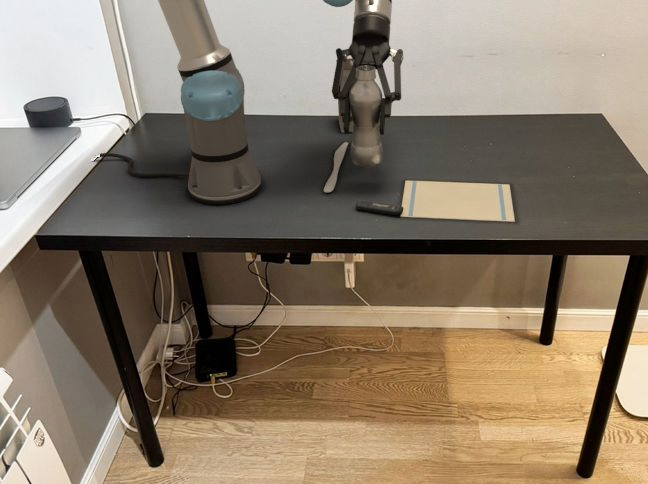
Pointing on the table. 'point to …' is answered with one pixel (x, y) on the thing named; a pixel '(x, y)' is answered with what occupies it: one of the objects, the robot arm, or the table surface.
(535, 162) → the table surface
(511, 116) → the table surface
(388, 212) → the usb stick
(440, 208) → the dish towel
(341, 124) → the coffee box
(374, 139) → the plastic bottle
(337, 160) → the butter knife
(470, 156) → the table surface
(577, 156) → the table surface
